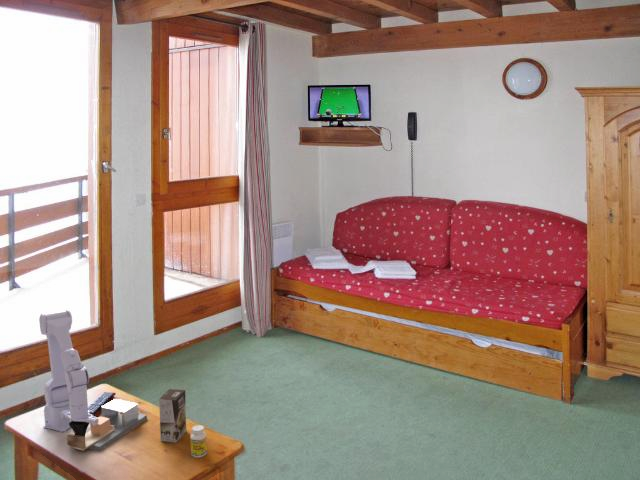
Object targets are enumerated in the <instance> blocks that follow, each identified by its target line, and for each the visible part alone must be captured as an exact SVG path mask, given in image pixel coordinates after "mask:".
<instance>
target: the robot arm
mask: <svg viewBox="0 0 640 480" xmlns="http://www.w3.org/2000/svg"><path fill="white" fill-rule="evenodd" d="M72 324H73V317H72V313H71V311H70V310H69V309H67V308H66V309H63V310H58V311H57V310H56V311H52V312H47V313H43V312H42V313H41V314H40V315H39V329H40V330H39V331H40V332H41V335H44V336H46V338H47V339H46V340H47V346H48V347H47V349H48V355H49V356H48V357H49V364H50V374H51V378H50V379H49V380H48V381H47V382H45V384H44V393H43V395H44V400H45V403H46V404H45V405H44V408H43V416H44V417H43V418H44V425H43V426H42V427H43V428H45V429H50V430H53V431H58V432H61V433H64V432H65V431H67V430H69V429H72V431H73V434H76V435H80V436H84V437H85V434H86V430H87V428H89V425H90V423H91V424H92V425H94V426H95V425H96V424H98V423H99V422H98V417H96V416H94V414H91V413H90V410H89V405H88V390H87V387H88V386H87V385H88V384H89V382H90V376H89V372H88V369H87V368H86V366H85V364H83V363H82V360H81V358H80V354H79V351H78V350H77V349H74V347H73V343H72V342H73V341H72V339H71V332H70V330H71V328H72Z"/></svg>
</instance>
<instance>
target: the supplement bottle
mask: <svg viewBox="0 0 640 480" xmlns="http://www.w3.org/2000/svg"><path fill="white" fill-rule="evenodd" d="M206 433H207V432H205V427H204V426H203V425H200V424H198V425H194V426H192V427H191V434H190V436H189V437H190V440H189V442H190V455H191V456H192V457H193V458H202V457H205V456H206V455H207V453H208V452H207V451H208V448H207V446H208V444H207V434H206Z"/></svg>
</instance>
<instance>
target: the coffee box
mask: <svg viewBox="0 0 640 480" xmlns="http://www.w3.org/2000/svg"><path fill="white" fill-rule="evenodd" d="M158 404H159V428H160V429H159V431H160V433H159V435H160V437H159V438H160V442H167V443H178V441H180V439H181V438H182V437H183V436H184V435H185V434H186V432H187V408H186V404H187V403H186V390H185V389H174V388H172V389H171V388H169V389H167V391H165V393H164V394H162V395H161V397H160V398H159V403H158Z"/></svg>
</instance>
